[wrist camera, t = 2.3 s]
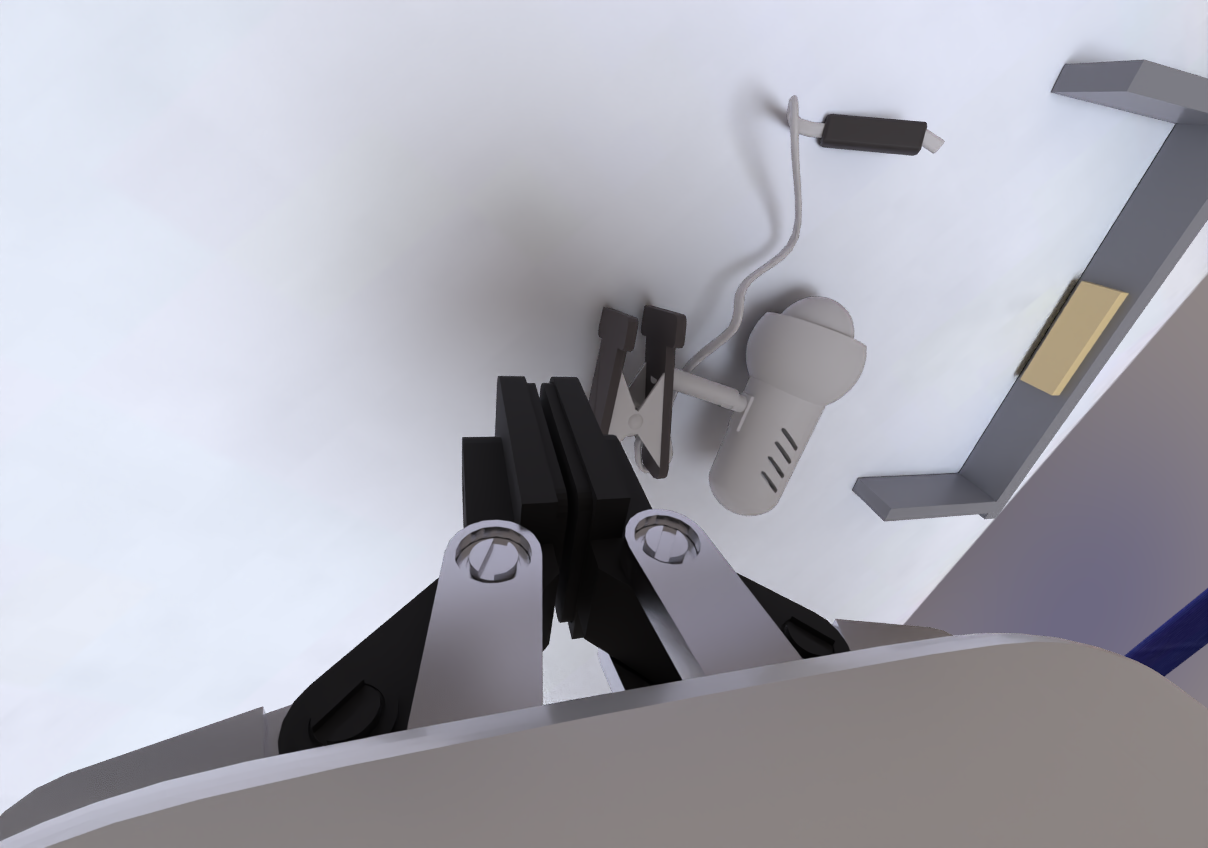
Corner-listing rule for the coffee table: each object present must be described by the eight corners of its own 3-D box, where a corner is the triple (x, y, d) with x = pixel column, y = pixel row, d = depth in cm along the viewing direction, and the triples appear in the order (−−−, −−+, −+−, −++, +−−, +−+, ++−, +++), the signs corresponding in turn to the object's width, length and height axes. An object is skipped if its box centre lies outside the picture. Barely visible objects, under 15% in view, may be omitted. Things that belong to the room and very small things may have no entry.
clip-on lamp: (691, 48, 20) (548, 449, 24) (778, -36, 15) (572, 510, 18) (898, 173, 24) (746, 502, 28) (1034, 146, 18) (819, 566, 22)
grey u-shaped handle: (958, 489, 36) (995, 518, 33) (849, 496, 33) (880, 527, 31) (1213, 90, 24) (1300, 89, 21) (1072, 50, 21) (1153, 43, 19)
